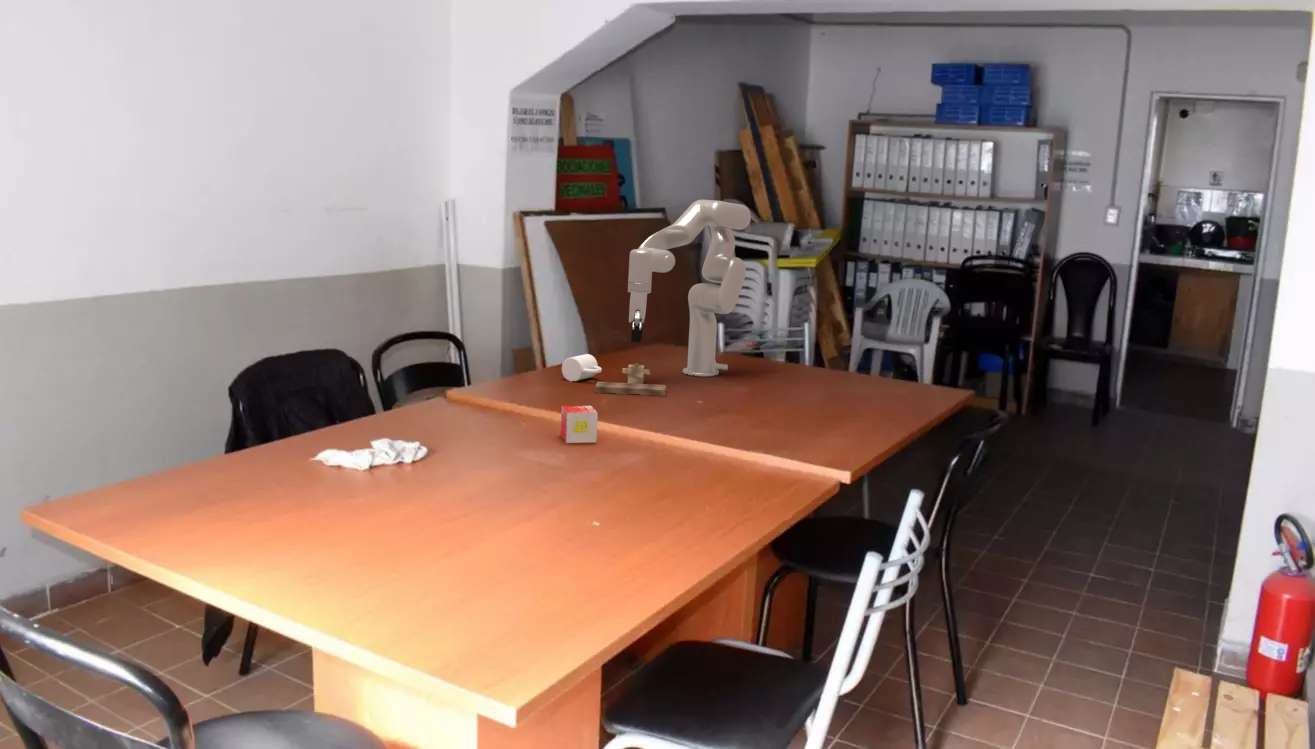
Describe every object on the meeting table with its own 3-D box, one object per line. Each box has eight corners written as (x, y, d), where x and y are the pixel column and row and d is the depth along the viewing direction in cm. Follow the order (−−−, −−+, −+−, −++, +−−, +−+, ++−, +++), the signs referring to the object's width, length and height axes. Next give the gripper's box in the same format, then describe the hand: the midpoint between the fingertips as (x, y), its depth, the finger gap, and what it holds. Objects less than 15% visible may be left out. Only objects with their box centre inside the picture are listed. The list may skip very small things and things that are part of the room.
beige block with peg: (649, 383, 359) (650, 363, 357) (649, 385, 354) (649, 365, 353) (622, 381, 359) (623, 361, 357) (621, 384, 354) (622, 364, 353)
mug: (561, 380, 357) (561, 356, 356) (577, 375, 366) (578, 352, 364) (591, 385, 351) (592, 360, 350) (607, 380, 360) (608, 357, 359)
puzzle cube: (566, 443, 276) (567, 412, 275) (560, 435, 284) (561, 406, 282) (596, 442, 278) (597, 412, 277) (590, 435, 286) (591, 405, 284)
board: (665, 391, 347) (665, 384, 346) (665, 396, 339) (665, 389, 338) (597, 387, 347) (597, 381, 346) (595, 392, 339) (595, 386, 338)
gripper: (629, 284, 359) (626, 335, 362) (626, 289, 342) (623, 343, 345) (651, 286, 359) (648, 337, 362) (650, 291, 342) (647, 344, 345)
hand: (636, 339), depth 353 cm, fingers open, 9 cm apart
